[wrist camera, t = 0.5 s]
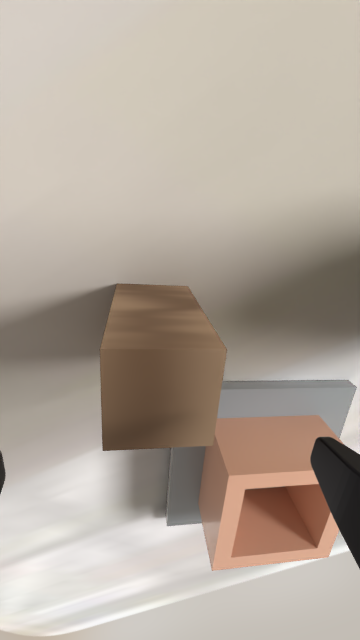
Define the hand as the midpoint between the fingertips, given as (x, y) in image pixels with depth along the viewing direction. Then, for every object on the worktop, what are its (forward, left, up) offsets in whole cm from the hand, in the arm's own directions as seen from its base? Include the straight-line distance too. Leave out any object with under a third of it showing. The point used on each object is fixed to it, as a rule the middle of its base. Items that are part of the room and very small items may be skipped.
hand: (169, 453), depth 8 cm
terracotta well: (-9, +12, -12) cm, 19 cm away
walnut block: (0, 0, -12) cm, 12 cm away
